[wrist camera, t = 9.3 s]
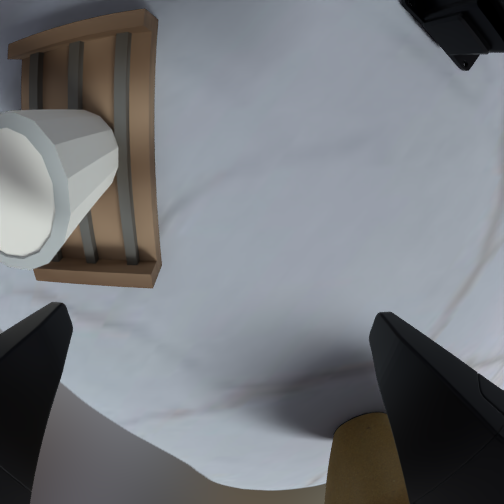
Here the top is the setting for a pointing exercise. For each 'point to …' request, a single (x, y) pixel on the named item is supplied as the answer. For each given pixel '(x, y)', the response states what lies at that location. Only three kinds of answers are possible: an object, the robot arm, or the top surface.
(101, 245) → the rack
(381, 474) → the plant pot
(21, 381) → the robot arm
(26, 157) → the white tapered cylinder
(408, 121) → the top surface
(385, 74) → the top surface
